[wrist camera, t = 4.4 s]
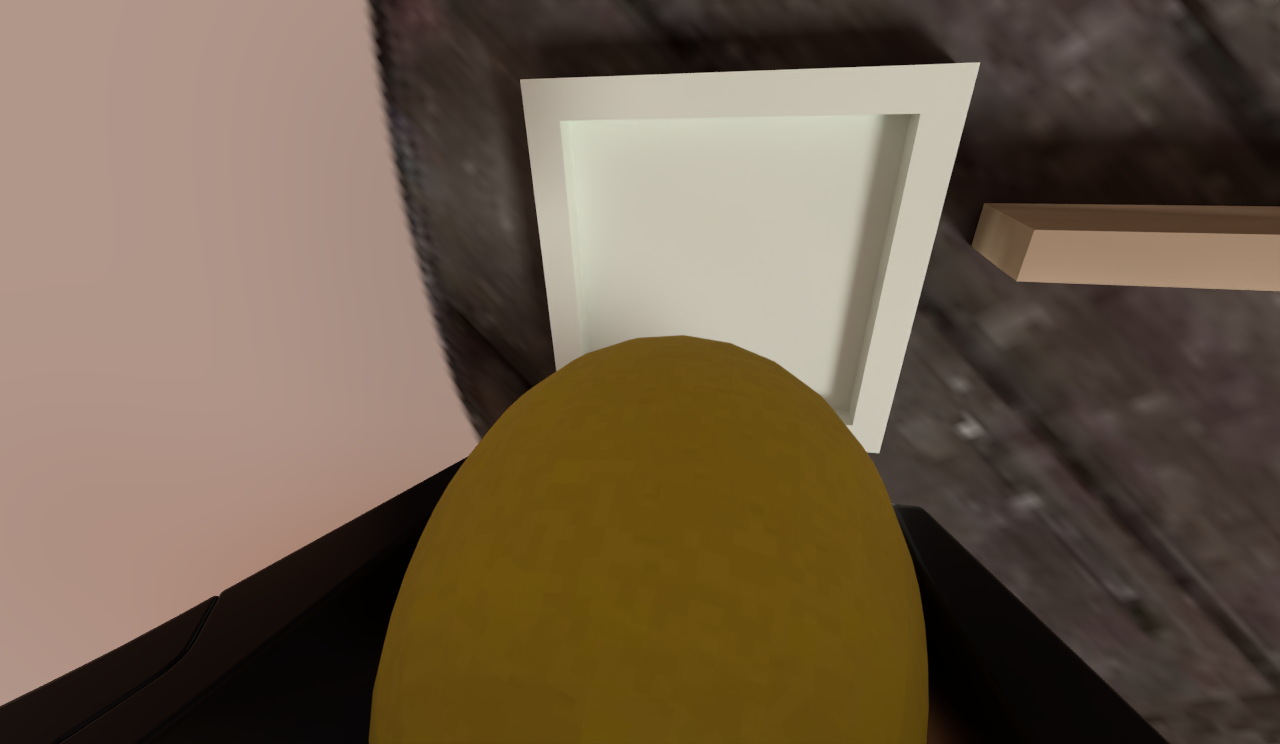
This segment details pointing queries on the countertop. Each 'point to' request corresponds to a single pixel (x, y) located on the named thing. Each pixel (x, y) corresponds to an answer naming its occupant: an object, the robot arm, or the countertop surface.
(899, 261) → the dish
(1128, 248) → the u-shaped wooden frame
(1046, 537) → the countertop surface
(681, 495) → the lemon
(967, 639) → the robot arm
